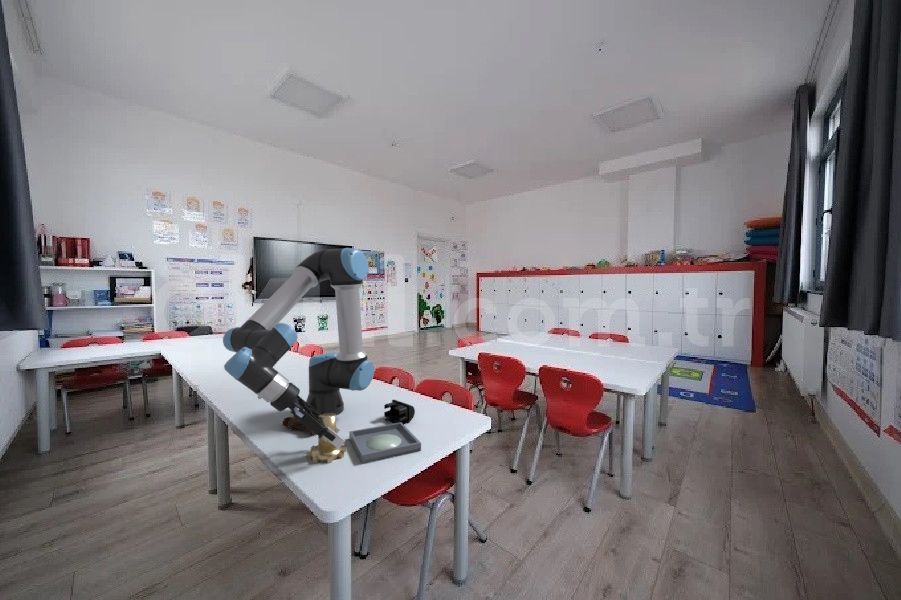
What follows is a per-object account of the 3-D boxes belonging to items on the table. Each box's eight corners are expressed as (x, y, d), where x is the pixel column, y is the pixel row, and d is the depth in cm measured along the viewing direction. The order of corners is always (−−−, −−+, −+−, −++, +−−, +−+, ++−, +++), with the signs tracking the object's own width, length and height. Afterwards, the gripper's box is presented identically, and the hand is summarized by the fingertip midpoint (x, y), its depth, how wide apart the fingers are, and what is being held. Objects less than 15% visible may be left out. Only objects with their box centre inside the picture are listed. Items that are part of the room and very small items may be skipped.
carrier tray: (349, 438, 110) (349, 431, 110) (401, 428, 118) (401, 422, 118) (362, 463, 94) (362, 455, 94) (421, 450, 102) (421, 442, 102)
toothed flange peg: (305, 450, 101) (306, 412, 101) (342, 443, 106) (342, 407, 106) (309, 467, 92) (309, 425, 91) (349, 458, 97) (349, 419, 97)
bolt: (287, 431, 120) (319, 437, 114) (276, 428, 116) (309, 435, 110) (293, 414, 122) (325, 419, 116) (283, 411, 118) (315, 417, 112)
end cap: (415, 421, 126) (415, 403, 126) (400, 426, 120) (400, 408, 120) (397, 414, 132) (398, 397, 132) (383, 419, 127) (383, 402, 127)
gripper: (269, 392, 101) (325, 435, 109) (268, 415, 82) (335, 465, 90) (288, 373, 103) (342, 416, 111) (291, 391, 85) (355, 442, 93)
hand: (339, 438), depth 101 cm, fingers open, 8 cm apart
